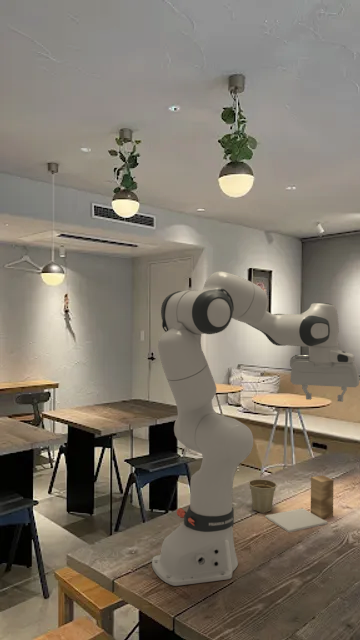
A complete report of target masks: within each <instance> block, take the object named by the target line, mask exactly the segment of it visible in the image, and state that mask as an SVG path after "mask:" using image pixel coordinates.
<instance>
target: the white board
mask: <svg viewBox="0 0 360 640" xmlns="http://www.w3.org/2000/svg"><path fill="white" fill-rule="evenodd" d="M265 518H266V519H267V520H269V521H270V522H272V523H273V524H275V525H276V526H278V527H280V528H282V529H283V530H284V531H286V532H287V533H293V532H296V531H302V530H305V529H310V528H311V529H312V528H315V527H319V526H320V527H321V526H325V525H328V522H329V521H327V520H326V519H321V518H319V517H318V516H316V515H314V514H312V513H311V511H308V510H306V508H305V509H304V508H303V507H302V508H297V509H292V510H291V509H290V510H287V511H282V512H277V513H271V514H266V515H265Z"/></svg>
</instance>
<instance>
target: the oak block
mask: <svg viewBox="0 0 360 640" xmlns="http://www.w3.org/2000/svg"><path fill="white" fill-rule="evenodd" d="M334 480H335V479H333V478H330V477H327V476H325V475H317V476H311V477H310V513H312V514H314V515H316V516H318V517H319V518H321V519H323V520H326V519H329V518H334V482H335V481H334Z"/></svg>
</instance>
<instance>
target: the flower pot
mask: <svg viewBox="0 0 360 640" xmlns="http://www.w3.org/2000/svg"><path fill="white" fill-rule="evenodd" d="M248 485H249V489H250V494H251V495H250V496H251V501H252V509H253V511H257V512H258V513H268V512H271V511H272V508H273V502H274V495H275V491H276V488H277V487H278V485H277V482H274V481H272V480H269V479H261V478H260V479H259V478H258V479H251V480H250V481H248Z"/></svg>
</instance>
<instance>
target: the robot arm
mask: <svg viewBox="0 0 360 640" xmlns="http://www.w3.org/2000/svg"><path fill="white" fill-rule="evenodd" d="M268 307H269V298H268V295H267V292H266V291H265V290H264V289H262V287H260V286H259V285H258V284H255V283H254V282H252V281H250V280H248V279H246V278H245V277H241V276H239V275H236V274H233V273H231V272H226V271H222V270H221V271H215V272H213V273H212V274H210V275H209V276H208V278H207V279H206V281H205V282H204V284H203V289H200V290H199V289H188V290H178V291H175V292H173V293H171V294H169V295H167V296H166V297H165V299H164V300H163V302H162V303H161V309H160V312H161V313H160V315H161V320H162V324H161V327H162V329H163V330H164V333H163V334H162V335H161V336H160V337H159V338H158V339H159V340H158V342H157V348H158V354H159V355H158V356H159V359H160V362H161V366H162V369H163V372H164V375H165V377H166V380H167V382H168V385H169V387H170V390H171V393H172V396H173V398H174V401H175V404H176V409H177V418H176V419H175V422H174V425H173V432H174V436H175V438H176V439H177V441H179V442H180V443H181V444H182V445H183V446H185V447H186V448H187V449H189V450H191V451H194V452H197V453H200V454H201V456H202V458H201V459H202V461H201V465H200V468H199V470H197V471H195V473H193V474H192V475H191V477H190V482H189V483H190V484H189V486H190V487H189V494H190V496H189V503H190V504H189V506H188V508H187V511H186V510H184V509H183V507H182V508H181V507H180V508H178V509H177V510H176V515H177V516H178V517H180V518H181V519H183V522H182V523H181V524H179V526H177V528H175V529H174V530H173V531H172V532H171V533H170V534H169V535H167V536H166V537H165V538H164V540H163V541H162V544H161V549H160V554H158V555H155V556H153V557H152V559H151V560H152V561H151V568H152V570H153V571H154V573H155V575H156V576H157V577H158V578H159V579H160V580H162V581H163V582H165V583H167V585H170V586H176V587H177V586H184V585H185V586H186V585H193V584H194V585H195V584H200V583H209V582H217V581H223V580H224V581H225V580H230V579H231V578H233V572H234V571H235V570H236V569H237V567H238V565H239V560H238V557H237V554H236V549H235V543H234V531H233V528H234V523H235V521H234V520H235V511H234V510H235V509H234V507H233V493H234V492H233V490H234V488H233V487H234V480H235V479H234V478H235V475H236V472H237V470H238V467H239V465H240V464H241V463H243V462H244V461H245V460H246V459H248V457H249V456H250V454H251V453H252V451H253V446H254V436H253V433H252V430H251V428H249V427H248V425H246V424H244V423H243V422H241V421H240V420H238V419H236V418H233V417H229V416H226V415H223V414H218V413H217V412H216V410H215V409H214V406H213V399H214V398H215V396H216V394H217V385H216V383H215V380H214V378H213V375H212V371H211V369H210V365H209V364H208V361H207V359H206V356H205V353H204V352H203V348H202V342H201V341H202V339H201V338H202V335H203V334H205V335H214V334H218V333H221V332H223V331H225V330H226V329H227V328H228V326H229V324H230V322H231V321H232V319H233V320H235V321H239V322H241V323H244V324H246V325H248V326H250V327H252V328H254V329H256V330H257V331H259V332H261V333H262V334H263V335H264V336H265V337H266V338H267V339H268V340H269V342H270V343H271V344H273V345H274V346H283V347H284V346H291V347H304V348H305V347H308V354H295V355H293V356H292V357H290V360H289V366H290V368H291V371H290V382H291V384H292V385H296V386H297V385H299V386H301V388H302V390H303V393H304V394H305V399H306V400H311V401H312V398H313V397H312V392H309V390H308V388H309V386H318V387H319V386H321V387H337V388H338V387H339V388H341V389H340V390H341V391H342V392H341V393H340V394H337V402H343V401H344V395H345V393H346V391H347V390H348V388H357V387H358V386H359V384H360V374H359V369H358V366H357V364H356V363H355V362H354V361H355V355H354V354H353V353H351V352H346V351H344V350H341V349H340V348H339V347H340V344H339V341H338V335H339V332H340V331H339V327H340V325H339V315H338V310H337V308H336V306H335V305H334V304H331V303H326V302H313V303H311V304H310V306H309V308H308V309H307V310H306V311H304V312H301V313H300V314H297V313H294V314H292V313H291V314H288V313H286V314H285V313H272V312H269V311H268Z"/></svg>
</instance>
